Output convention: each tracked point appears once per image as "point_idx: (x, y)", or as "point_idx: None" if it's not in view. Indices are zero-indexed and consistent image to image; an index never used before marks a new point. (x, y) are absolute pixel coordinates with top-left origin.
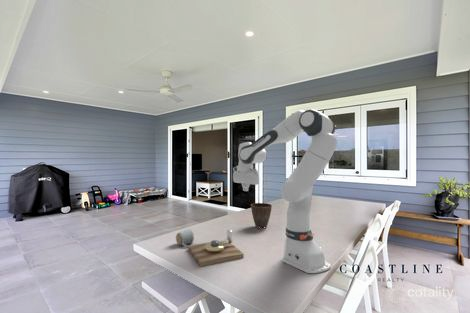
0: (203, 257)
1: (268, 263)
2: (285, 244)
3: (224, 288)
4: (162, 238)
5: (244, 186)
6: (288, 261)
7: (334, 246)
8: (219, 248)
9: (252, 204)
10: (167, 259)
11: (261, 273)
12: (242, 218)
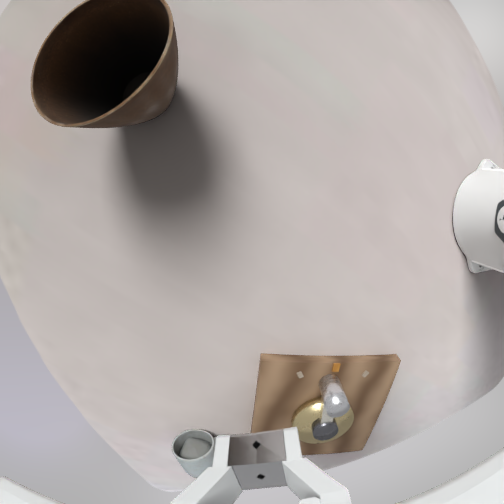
0: (346, 443)
1: (455, 311)
2: (501, 271)
3: (444, 417)
4: (133, 456)
5: (221, 495)
6: (487, 268)
7: (464, 54)
8: (353, 419)
9: (37, 98)
10: None
11: (466, 348)
12: (10, 122)
